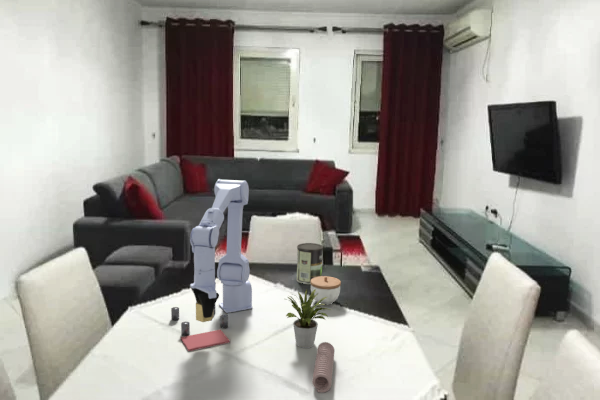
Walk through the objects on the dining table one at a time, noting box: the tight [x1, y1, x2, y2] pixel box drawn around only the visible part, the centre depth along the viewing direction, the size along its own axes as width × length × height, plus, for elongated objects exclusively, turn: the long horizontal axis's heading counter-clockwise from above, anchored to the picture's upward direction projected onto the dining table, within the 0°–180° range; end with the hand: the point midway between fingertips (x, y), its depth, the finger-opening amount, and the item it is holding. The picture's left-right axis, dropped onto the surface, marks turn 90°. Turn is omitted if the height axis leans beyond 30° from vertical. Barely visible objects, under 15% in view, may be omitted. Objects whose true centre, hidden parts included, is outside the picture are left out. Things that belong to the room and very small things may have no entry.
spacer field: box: [170, 305, 229, 337], centre depth 149 cm, size 14×14×4 cm
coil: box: [311, 341, 335, 394], centre depth 122 cm, size 5×5×18 cm
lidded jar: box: [310, 275, 342, 305], centre depth 168 cm, size 11×11×9 cm
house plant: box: [285, 288, 332, 349], centre depth 135 cm, size 14×14×16 cm
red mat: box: [180, 328, 231, 352], centre depth 138 cm, size 12×8×1 cm, turn 119°
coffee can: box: [296, 242, 324, 285], centre depth 190 cm, size 10×10×14 cm
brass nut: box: [195, 300, 215, 323], centre depth 136 cm, size 5×4×5 cm
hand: (205, 313), depth 136 cm, fingers closed on brass nut, 4 cm apart
